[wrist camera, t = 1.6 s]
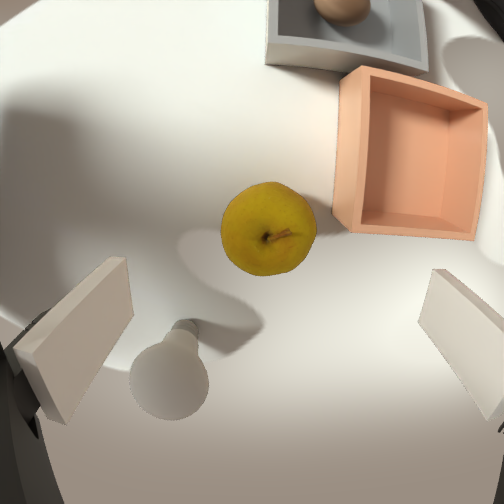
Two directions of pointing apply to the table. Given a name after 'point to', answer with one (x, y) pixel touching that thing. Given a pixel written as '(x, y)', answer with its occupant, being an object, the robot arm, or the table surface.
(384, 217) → the orange square tray
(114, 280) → the robot arm
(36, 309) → the table surface
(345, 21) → the brown ball
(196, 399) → the lightbulb
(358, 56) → the grey square tray
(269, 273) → the apple
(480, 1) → the computer mouse
